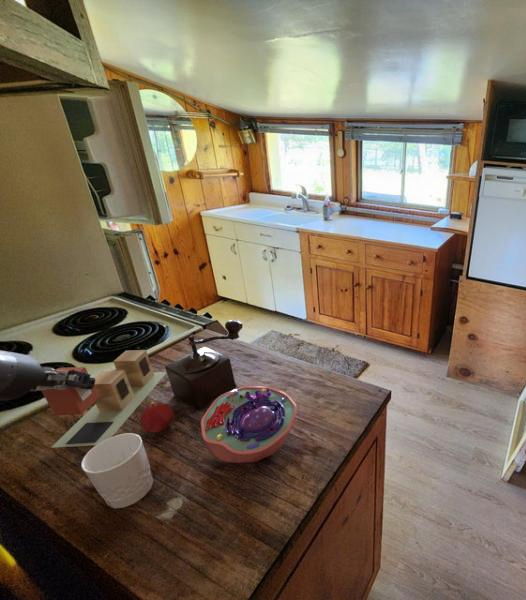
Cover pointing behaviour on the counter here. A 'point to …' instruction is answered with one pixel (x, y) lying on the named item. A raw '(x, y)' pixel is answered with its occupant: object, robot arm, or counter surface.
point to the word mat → (105, 419)
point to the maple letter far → (135, 367)
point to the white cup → (119, 470)
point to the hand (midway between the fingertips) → (77, 384)
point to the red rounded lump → (156, 417)
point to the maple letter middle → (112, 391)
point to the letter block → (70, 397)
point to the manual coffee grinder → (203, 372)
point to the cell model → (248, 423)
